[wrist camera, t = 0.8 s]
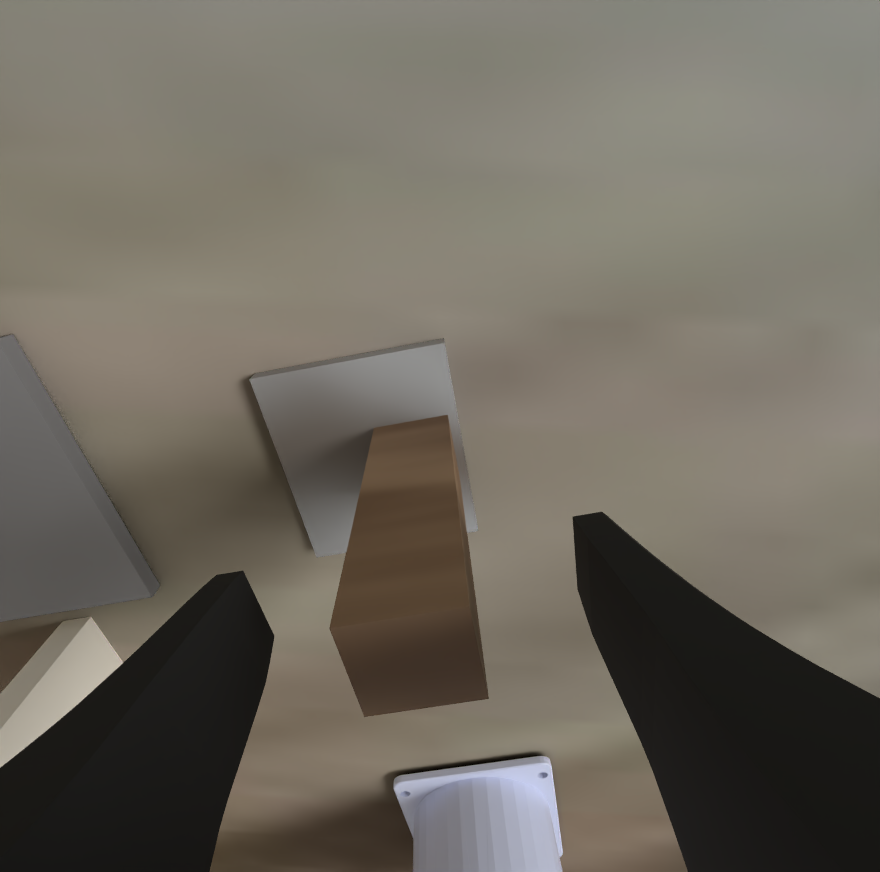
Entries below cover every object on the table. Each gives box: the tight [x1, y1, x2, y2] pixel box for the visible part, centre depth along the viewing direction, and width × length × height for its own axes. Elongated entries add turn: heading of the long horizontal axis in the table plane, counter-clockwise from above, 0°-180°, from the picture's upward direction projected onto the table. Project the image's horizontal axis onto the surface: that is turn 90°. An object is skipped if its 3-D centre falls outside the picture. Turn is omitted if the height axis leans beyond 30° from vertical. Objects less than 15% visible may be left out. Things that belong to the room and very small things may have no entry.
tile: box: [0, 617, 123, 767], centre depth 17 cm, size 7×1×9 cm, turn 10°
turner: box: [249, 338, 489, 717], centre depth 12 cm, size 7×6×9 cm
